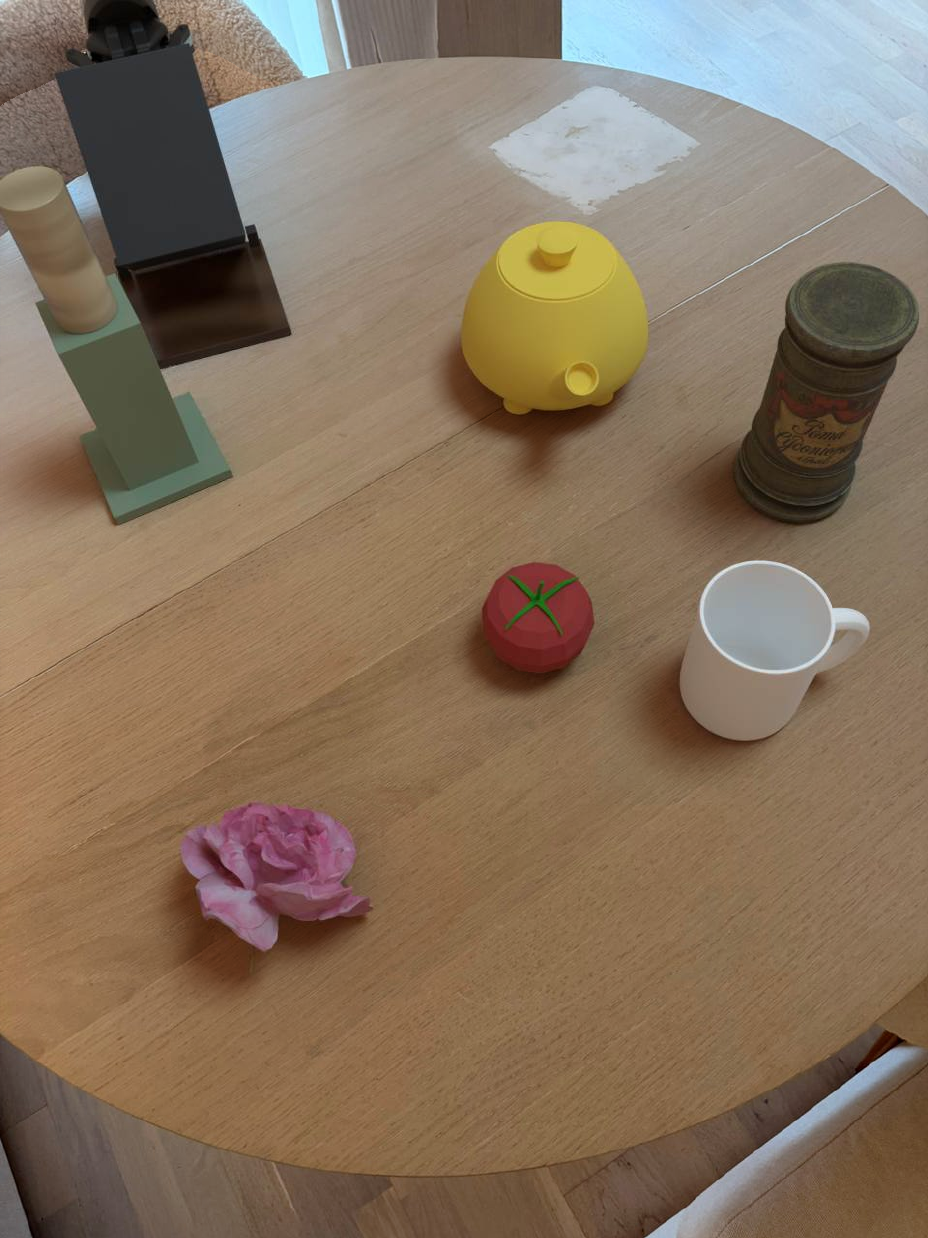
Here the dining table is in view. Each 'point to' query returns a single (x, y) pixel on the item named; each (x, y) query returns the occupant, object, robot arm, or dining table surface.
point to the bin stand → (207, 302)
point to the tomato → (537, 617)
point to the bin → (152, 156)
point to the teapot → (554, 320)
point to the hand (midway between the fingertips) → (155, 140)
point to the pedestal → (135, 416)
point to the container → (824, 389)
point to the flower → (271, 869)
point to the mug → (761, 648)
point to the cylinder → (57, 249)
